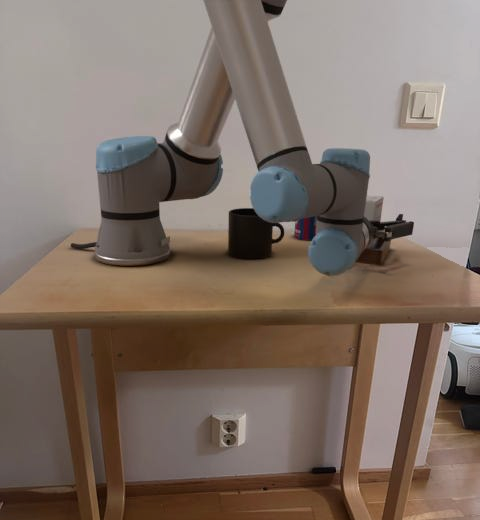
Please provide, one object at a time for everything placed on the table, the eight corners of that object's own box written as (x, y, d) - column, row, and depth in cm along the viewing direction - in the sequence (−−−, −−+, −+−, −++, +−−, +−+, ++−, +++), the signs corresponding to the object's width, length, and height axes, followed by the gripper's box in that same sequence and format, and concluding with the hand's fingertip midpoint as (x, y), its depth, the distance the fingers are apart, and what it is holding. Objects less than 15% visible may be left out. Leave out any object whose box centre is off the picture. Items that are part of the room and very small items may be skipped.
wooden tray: (332, 258, 103) (333, 244, 102) (346, 244, 115) (347, 232, 114) (380, 264, 100) (382, 250, 99) (389, 249, 112) (391, 236, 111)
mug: (284, 260, 101) (287, 216, 98) (227, 259, 101) (227, 215, 98) (281, 249, 110) (283, 208, 107) (228, 247, 110) (229, 207, 107)
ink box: (356, 246, 112) (362, 194, 107) (377, 249, 110) (384, 196, 105) (346, 254, 105) (352, 199, 100) (369, 257, 103) (376, 201, 98)
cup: (290, 235, 124) (292, 208, 121) (326, 233, 126) (328, 207, 124) (300, 241, 118) (302, 212, 115) (337, 239, 120) (340, 211, 118)
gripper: (283, 248, 95) (312, 228, 113) (416, 265, 86) (425, 240, 104) (285, 209, 92) (315, 195, 110) (423, 222, 83) (431, 205, 102)
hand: (368, 217), depth 107 cm, fingers open, 13 cm apart
